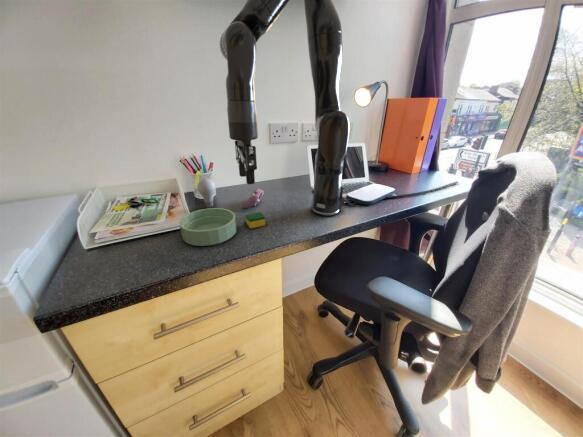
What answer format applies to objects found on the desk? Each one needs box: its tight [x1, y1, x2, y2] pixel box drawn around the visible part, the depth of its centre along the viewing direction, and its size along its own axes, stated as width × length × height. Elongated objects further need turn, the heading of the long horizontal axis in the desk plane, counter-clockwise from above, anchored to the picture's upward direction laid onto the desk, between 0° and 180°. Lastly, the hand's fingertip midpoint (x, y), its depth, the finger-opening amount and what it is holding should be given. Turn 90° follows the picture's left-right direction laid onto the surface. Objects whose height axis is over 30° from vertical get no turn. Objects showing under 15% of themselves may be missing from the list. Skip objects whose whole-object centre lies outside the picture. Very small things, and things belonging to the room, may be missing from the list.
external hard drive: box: [345, 183, 396, 206], centre depth 98 cm, size 24×12×2 cm, turn 132°
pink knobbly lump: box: [242, 188, 265, 209], centre depth 89 cm, size 10×5×7 cm, turn 168°
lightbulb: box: [196, 178, 217, 209], centre depth 84 cm, size 6×6×11 cm
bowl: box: [178, 207, 238, 247], centre depth 69 cm, size 15×15×5 cm
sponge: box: [245, 211, 266, 229], centre depth 75 cm, size 5×4×3 cm
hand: (246, 179), depth 69 cm, fingers open, 8 cm apart
